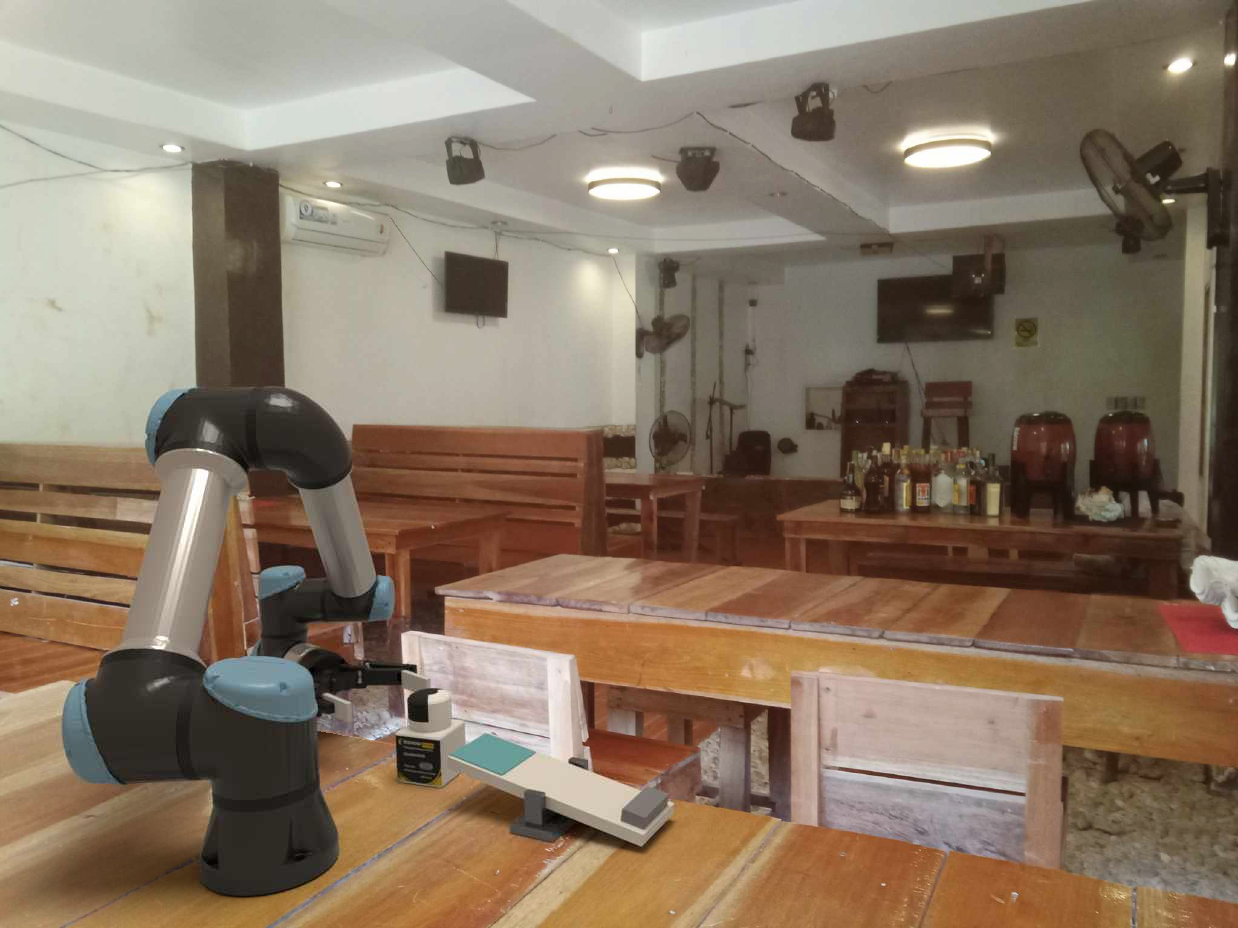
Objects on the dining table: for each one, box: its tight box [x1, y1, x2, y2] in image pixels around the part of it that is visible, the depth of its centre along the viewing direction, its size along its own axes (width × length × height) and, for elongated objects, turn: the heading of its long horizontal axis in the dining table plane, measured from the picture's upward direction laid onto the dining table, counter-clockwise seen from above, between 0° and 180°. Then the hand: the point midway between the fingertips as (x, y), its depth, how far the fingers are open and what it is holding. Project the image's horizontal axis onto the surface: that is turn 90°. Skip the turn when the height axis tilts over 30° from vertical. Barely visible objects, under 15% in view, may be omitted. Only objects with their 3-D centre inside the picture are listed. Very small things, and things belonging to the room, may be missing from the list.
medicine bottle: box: [395, 687, 467, 789], centre depth 133 cm, size 7×7×12 cm
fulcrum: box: [509, 756, 589, 843], centre depth 120 cm, size 6×13×5 cm, turn 153°
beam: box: [447, 732, 675, 847], centre depth 120 cm, size 28×9×3 cm, turn 64°
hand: (390, 699), depth 140 cm, fingers open, 13 cm apart
